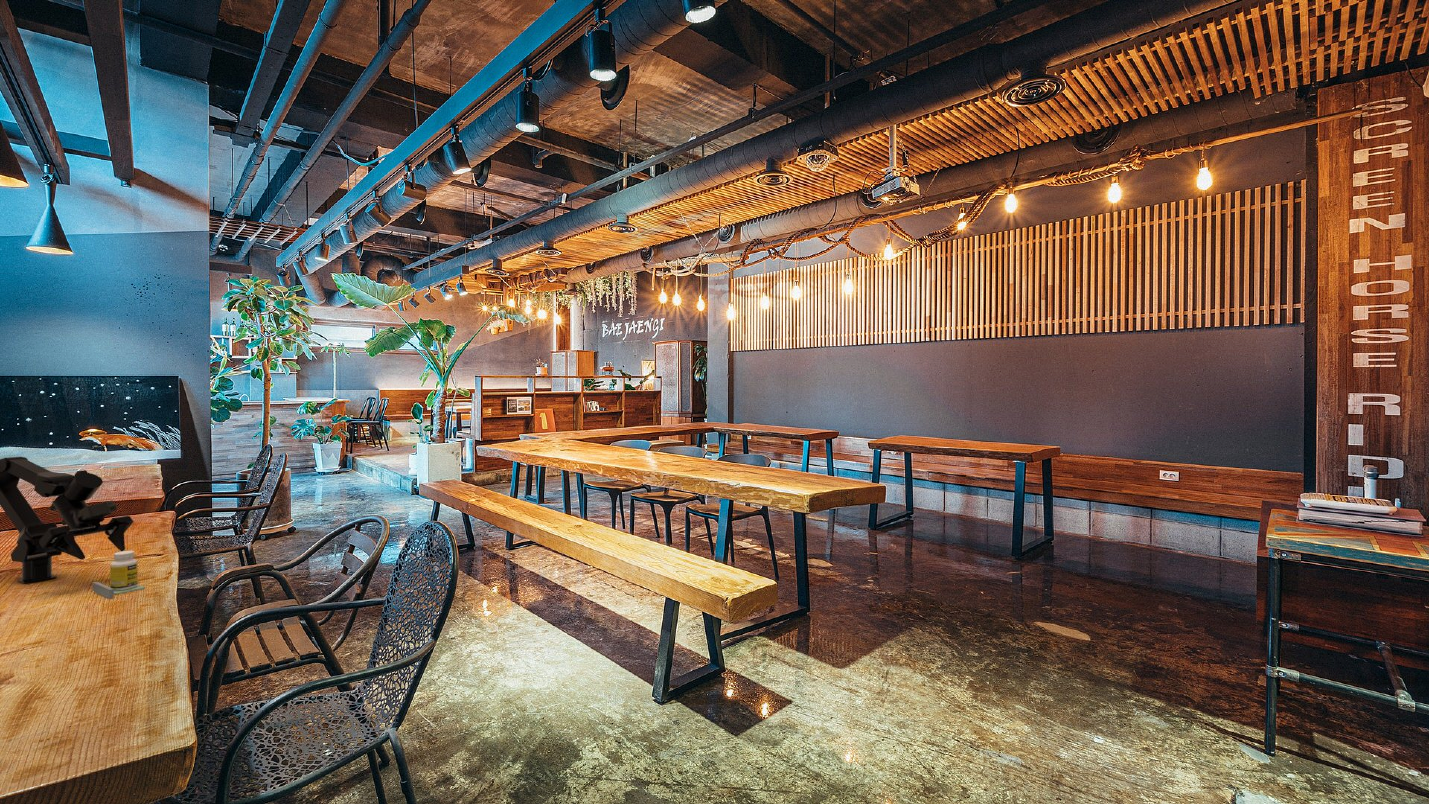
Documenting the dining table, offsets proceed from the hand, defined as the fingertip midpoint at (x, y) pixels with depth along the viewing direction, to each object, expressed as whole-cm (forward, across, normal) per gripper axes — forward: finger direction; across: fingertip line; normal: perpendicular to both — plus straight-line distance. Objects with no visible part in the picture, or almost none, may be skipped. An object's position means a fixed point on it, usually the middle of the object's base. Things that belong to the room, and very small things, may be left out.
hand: (104, 554), depth 170 cm
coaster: (+12, 0, +1) cm, 12 cm away
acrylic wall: (+12, -5, +1) cm, 13 cm away
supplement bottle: (+12, 0, +1) cm, 12 cm away
